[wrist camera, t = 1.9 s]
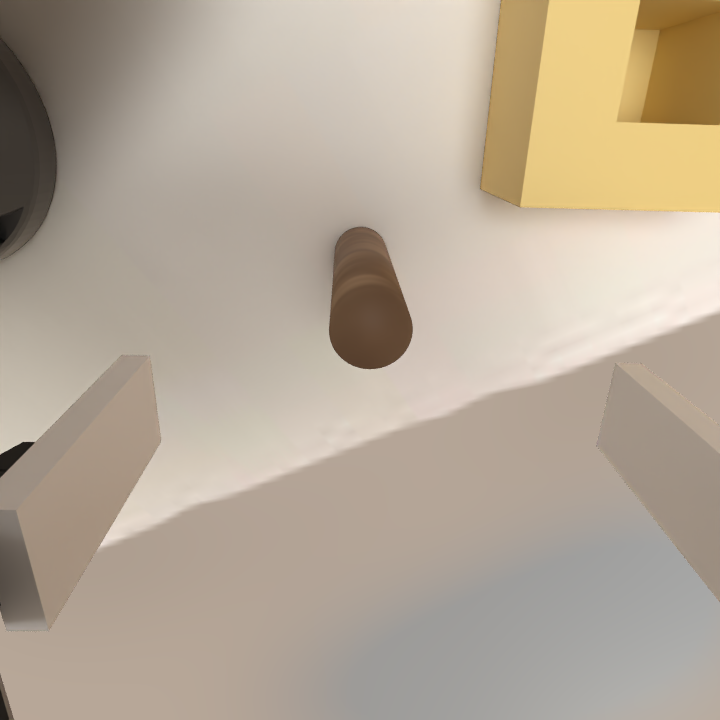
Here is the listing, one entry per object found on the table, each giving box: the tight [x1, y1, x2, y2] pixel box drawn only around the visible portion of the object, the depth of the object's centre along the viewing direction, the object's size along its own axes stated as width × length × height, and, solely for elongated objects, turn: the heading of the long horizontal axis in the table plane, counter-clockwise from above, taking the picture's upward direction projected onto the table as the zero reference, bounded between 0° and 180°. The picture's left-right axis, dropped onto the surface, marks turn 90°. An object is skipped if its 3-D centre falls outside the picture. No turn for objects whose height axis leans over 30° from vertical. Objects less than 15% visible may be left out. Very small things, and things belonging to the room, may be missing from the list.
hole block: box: [480, 0, 720, 213], centre depth 27 cm, size 12×12×8 cm
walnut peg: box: [329, 227, 413, 369], centre depth 27 cm, size 3×3×14 cm
